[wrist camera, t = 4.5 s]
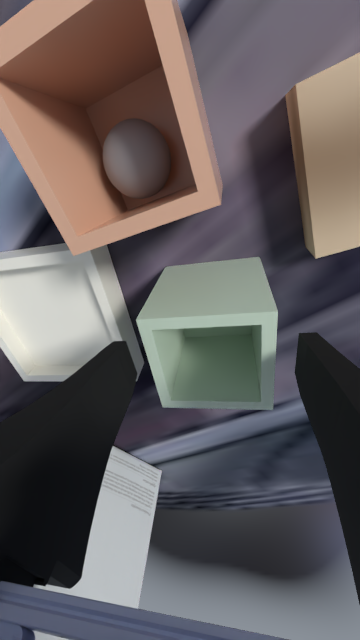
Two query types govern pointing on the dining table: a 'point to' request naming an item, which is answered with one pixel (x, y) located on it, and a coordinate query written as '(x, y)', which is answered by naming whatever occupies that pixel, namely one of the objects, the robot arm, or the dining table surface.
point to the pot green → (212, 335)
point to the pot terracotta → (104, 111)
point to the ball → (136, 158)
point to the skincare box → (117, 535)
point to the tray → (60, 310)
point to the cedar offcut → (328, 156)
